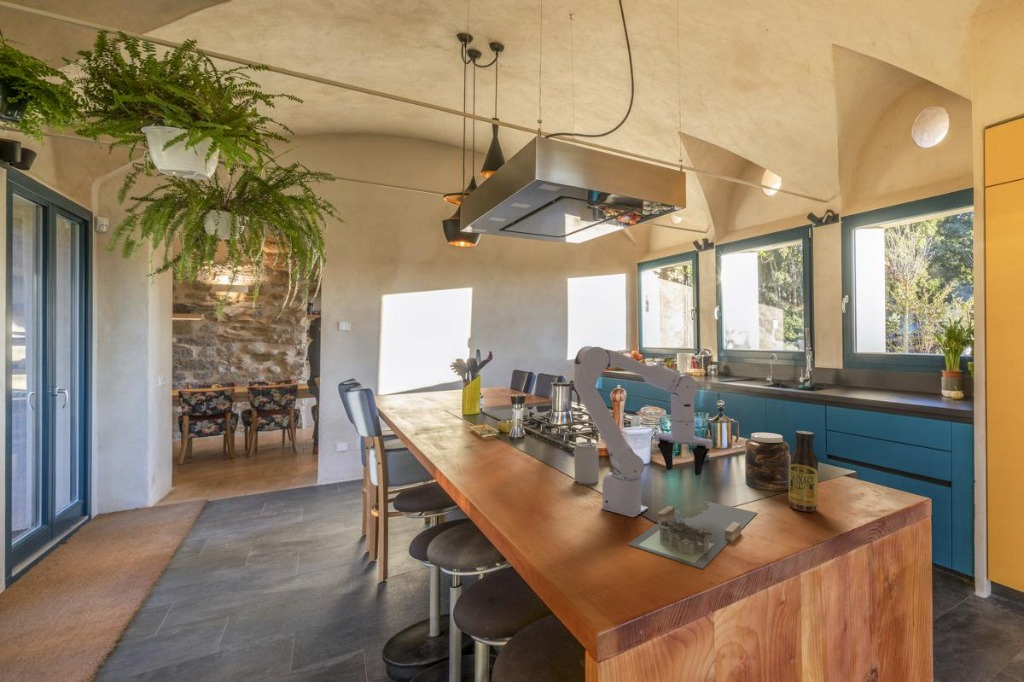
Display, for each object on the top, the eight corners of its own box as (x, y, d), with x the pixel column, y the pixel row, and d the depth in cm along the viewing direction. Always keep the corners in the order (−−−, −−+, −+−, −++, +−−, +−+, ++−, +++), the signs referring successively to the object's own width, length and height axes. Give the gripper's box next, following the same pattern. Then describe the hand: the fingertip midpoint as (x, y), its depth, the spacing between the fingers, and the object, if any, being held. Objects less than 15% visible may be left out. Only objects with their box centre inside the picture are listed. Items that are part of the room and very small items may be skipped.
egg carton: (714, 553, 94) (714, 533, 94) (681, 557, 93) (681, 537, 93) (685, 531, 104) (684, 514, 104) (655, 535, 103) (654, 516, 103)
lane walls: (658, 521, 111) (658, 512, 111) (668, 514, 115) (668, 505, 115) (732, 542, 99) (732, 532, 99) (741, 533, 104) (740, 523, 104)
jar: (748, 476, 145) (748, 429, 145) (791, 483, 138) (791, 433, 138) (742, 486, 136) (741, 436, 135) (788, 494, 129) (787, 441, 129)
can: (601, 485, 139) (600, 446, 139) (576, 485, 139) (575, 446, 139) (596, 478, 146) (596, 440, 146) (573, 478, 146) (572, 441, 146)
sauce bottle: (786, 509, 118) (785, 432, 118) (791, 502, 122) (790, 428, 122) (816, 515, 113) (815, 435, 113) (820, 508, 118) (819, 431, 118)
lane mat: (627, 544, 99) (627, 543, 99) (693, 499, 126) (693, 498, 126) (702, 569, 88) (702, 568, 88) (757, 513, 115) (757, 512, 115)
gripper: (716, 420, 118) (717, 473, 118) (663, 415, 128) (664, 463, 128) (706, 424, 113) (707, 479, 113) (651, 418, 123) (652, 469, 123)
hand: (683, 471), depth 120 cm, fingers open, 7 cm apart
